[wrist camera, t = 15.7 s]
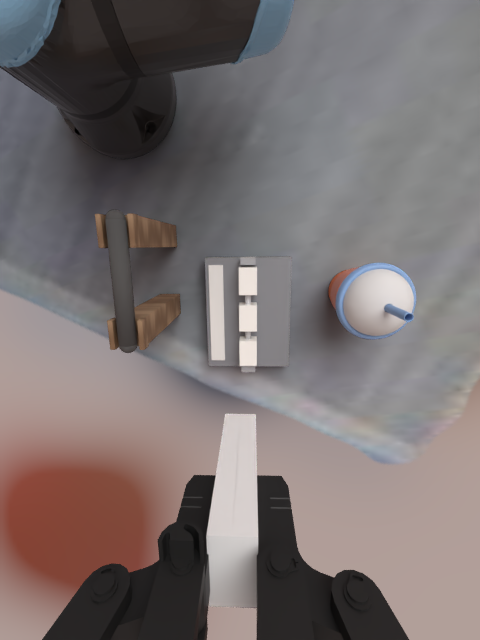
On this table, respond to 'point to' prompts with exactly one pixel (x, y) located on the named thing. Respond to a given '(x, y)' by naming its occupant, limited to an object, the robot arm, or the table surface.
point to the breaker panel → (270, 310)
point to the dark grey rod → (121, 280)
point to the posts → (160, 308)
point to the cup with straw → (373, 300)
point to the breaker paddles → (248, 316)
